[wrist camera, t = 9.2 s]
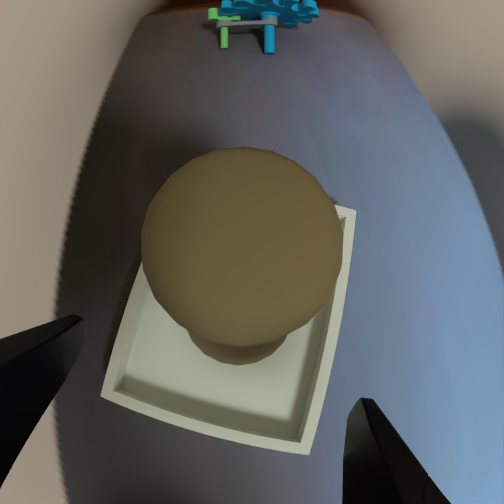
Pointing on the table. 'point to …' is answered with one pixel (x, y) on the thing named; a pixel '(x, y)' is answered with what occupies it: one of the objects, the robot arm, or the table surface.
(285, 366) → the tray
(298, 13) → the gear
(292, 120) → the table surface
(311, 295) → the cork
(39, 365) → the robot arm
